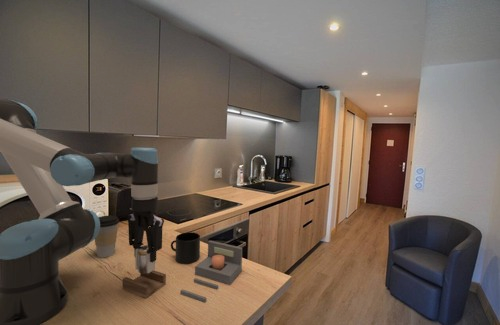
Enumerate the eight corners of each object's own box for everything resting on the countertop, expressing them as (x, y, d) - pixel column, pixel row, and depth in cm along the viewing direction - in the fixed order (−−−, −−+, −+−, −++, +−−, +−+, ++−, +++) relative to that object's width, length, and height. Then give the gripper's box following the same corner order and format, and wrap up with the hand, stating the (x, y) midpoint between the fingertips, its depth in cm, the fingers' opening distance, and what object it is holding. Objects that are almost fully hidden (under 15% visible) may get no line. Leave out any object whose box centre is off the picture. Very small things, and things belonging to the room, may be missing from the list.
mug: (175, 251, 99) (176, 230, 99) (202, 254, 98) (203, 233, 97) (165, 262, 90) (165, 239, 89) (194, 265, 89) (195, 242, 88)
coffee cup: (88, 260, 89) (87, 222, 88) (97, 250, 98) (97, 215, 97) (115, 258, 91) (115, 221, 90) (122, 248, 100) (122, 214, 99)
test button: (220, 272, 80) (220, 261, 80) (209, 269, 82) (209, 258, 82) (226, 266, 84) (226, 256, 84) (215, 264, 86) (216, 253, 86)
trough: (146, 298, 69) (146, 287, 68) (122, 289, 73) (122, 278, 72) (165, 284, 76) (165, 274, 76) (143, 276, 80) (143, 266, 80)
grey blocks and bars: (212, 304, 67) (212, 275, 66) (173, 291, 72) (174, 263, 72) (241, 271, 85) (242, 247, 85) (209, 262, 91) (209, 240, 90)
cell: (144, 274, 71) (144, 250, 71) (135, 271, 73) (135, 247, 72) (155, 268, 75) (155, 245, 74) (145, 265, 77) (145, 242, 76)
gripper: (174, 197, 72) (174, 269, 74) (135, 192, 79) (135, 258, 81) (156, 202, 65) (156, 282, 67) (114, 196, 72) (115, 268, 74)
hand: (145, 269), depth 74 cm, fingers closed on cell, 4 cm apart
